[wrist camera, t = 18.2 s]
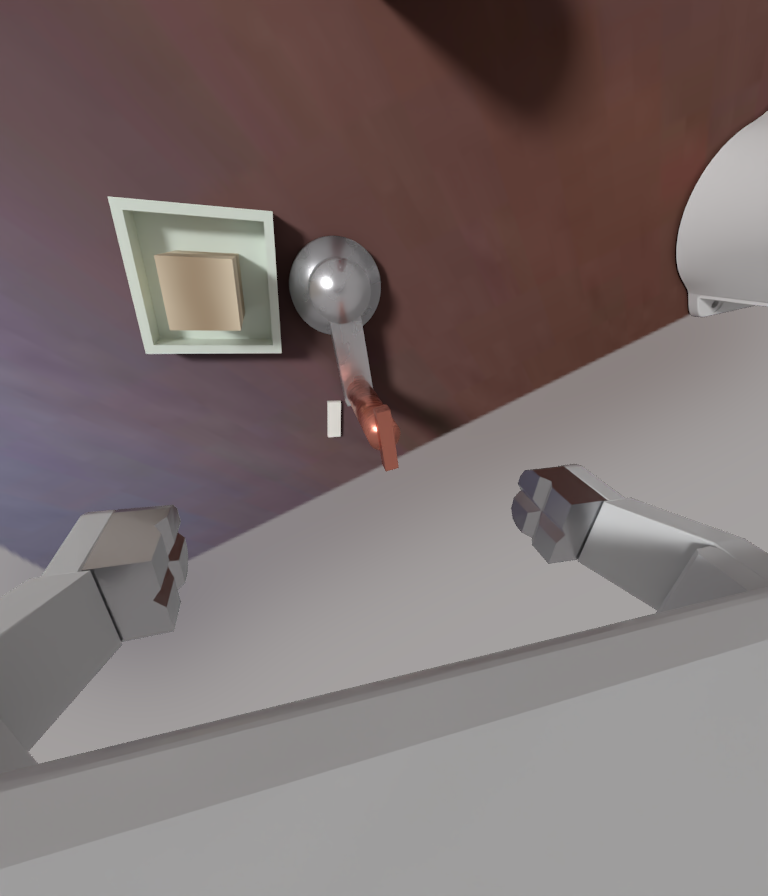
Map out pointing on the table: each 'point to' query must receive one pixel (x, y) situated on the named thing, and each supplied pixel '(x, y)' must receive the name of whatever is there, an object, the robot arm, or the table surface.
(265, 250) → the tray
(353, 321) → the crank
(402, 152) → the table surface
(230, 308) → the block
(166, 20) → the table surface
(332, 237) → the crank plinth
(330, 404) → the strip
